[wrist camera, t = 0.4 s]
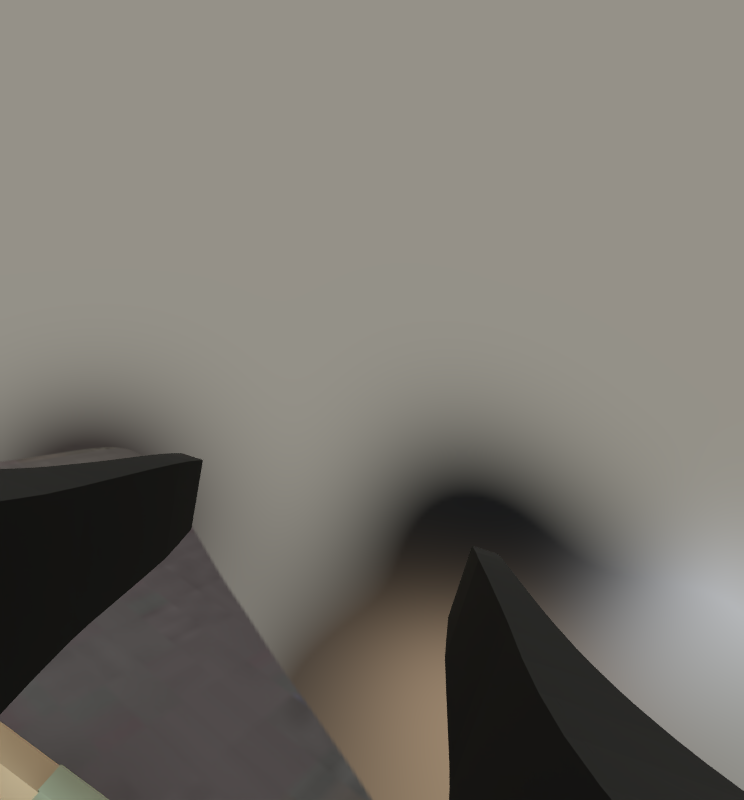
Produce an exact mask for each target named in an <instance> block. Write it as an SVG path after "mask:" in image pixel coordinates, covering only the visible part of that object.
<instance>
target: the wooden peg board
mask: <svg viewBox="0 0 744 800" xmlns="http://www.w3.org/2000/svg"><path fill="white" fill-rule="evenodd" d="M0 800H109V799H107V798H106V797H105V796H103V795H102V794H101V793H99V792H98V791H97V790H95V789H94V788H92V787H91V786H90V785H88V784H87V783H86V782H84V781H83V780H82V779H80V778H79V777H78V776H76V775H75V774H74V773H72V772H71V771H70V770H68V769H67V768H66V767H64V766H63V765H60V766H59V765H58V764H57V763H55V762H54V761H53V760H51V759H50V758H49V757H47V756H46V755H45V754H43V753H42V752H41V751H39V750H38V749H36V748H35V747H34V746H32V745H31V744H30V743H28V742H27V741H26V740H24V739H23V738H22V737H20V736H19V735H18V734H16V733H15V732H14V731H12V730H11V729H10V728H8V727H7V726H6V725H4V724H3V723H2V722H0Z"/></svg>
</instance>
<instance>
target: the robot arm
mask: <svg viewBox="0 0 744 800" xmlns="http://www.w3.org/2000/svg"><path fill="white" fill-rule="evenodd" d="M201 468H202V460H201V459H198V458H195V457H191V456H188V455H185V454H181V453H180V454H179V453H174V454H173V453H171V454H158V455H148V456H140V457H132V458H124V459H116V460H108V461H100V462H91V463H81V464H71V465H61V466H51V467H38V468H21V469H0V714H1V713H2V712H3V711H4V710H5V709H6V708H7V706H8V705H9V704H10V703H11V702H12V701H13V700H14V699H15V698H16V697H17V696H18V695H19V694H20V692H21V691H22V690H23V689H24V688H25V687H26V686H27V685H28V684H29V683H30V682H31V681H32V680H33V679H34V678H35V677H36V676H37V675H38V674H39V673H40V671H41V670H42V669H43V668H44V667H45V666H46V665H47V664H48V663H49V662H50V661H51V660H52V659H53V658H54V657H55V656H56V655H57V654H58V653H59V652H60V651H61V650H62V649H63V648H64V647H65V646H66V645H67V644H68V643H69V642H70V641H71V640H72V639H73V638H74V637H75V636H76V635H77V634H79V633H80V632H81V631H82V630H83V629H84V628H85V627H86V626H87V625H88V624H89V623H91V622H92V621H93V620H94V619H95V618H96V617H98V616H99V615H100V614H101V613H102V612H104V611H105V610H106V609H107V608H108V607H109V606H111V605H112V604H113V603H114V602H115V601H116V600H118V599H119V598H120V597H121V596H122V595H123V594H125V593H126V592H127V591H128V590H129V589H131V588H132V587H133V586H134V585H135V584H136V583H138V582H139V581H140V580H141V579H142V578H143V577H145V576H146V575H147V574H148V573H149V572H150V571H151V570H153V569H154V568H155V567H156V566H157V565H158V564H159V563H161V562H162V561H163V560H164V559H165V558H166V557H167V556H168V555H169V554H170V553H171V551H172V550H173V549H174V548H175V547H176V546H177V545H178V544H179V543H180V541H181V540H182V539H183V538H184V537H185V536H186V534H187V533H188V532H189V531H190V530H191V527H192V521H193V515H194V509H195V503H196V497H197V492H198V486H199V479H200V473H201ZM445 667H446V668H445V670H446V694H447V695H446V696H447V718H448V741H449V761H450V762H449V763H450V764H449V765H450V766H449V767H450V794H449V800H744V791H743V790H741V789H740V788H738V787H737V786H736V785H735V784H733V783H732V782H731V781H729V780H728V779H727V778H725V777H724V776H722V775H721V774H720V773H719V772H717V771H716V770H714V769H713V768H712V767H710V766H709V765H707V764H706V763H705V762H704V761H702V760H701V759H700V758H699V757H697V756H696V755H695V754H693V753H692V752H691V751H690V750H689V749H687V748H686V747H685V746H683V745H682V744H681V743H680V742H678V741H677V740H676V739H675V738H673V737H672V736H671V735H670V734H669V733H667V732H666V731H665V730H664V729H663V728H662V727H660V726H659V725H658V724H657V723H656V722H655V721H653V720H652V719H651V718H650V717H649V716H647V715H646V714H645V713H644V712H643V711H642V710H640V709H639V708H638V707H637V706H636V705H635V704H633V703H632V702H631V701H630V700H629V699H628V698H627V697H626V696H624V695H623V694H622V693H621V692H620V691H619V690H618V689H617V688H616V687H615V686H614V685H613V684H612V683H611V682H610V681H609V680H607V679H606V678H605V677H604V676H603V675H602V674H601V673H600V672H599V671H598V670H597V669H596V668H595V667H594V666H593V665H592V664H591V663H590V662H589V661H588V660H587V659H586V658H585V657H584V656H583V655H582V654H581V653H580V652H579V651H578V650H577V649H576V648H575V647H574V645H573V644H572V643H571V642H570V641H569V640H568V639H567V638H566V637H565V635H564V634H563V633H562V632H561V631H560V630H559V629H558V628H557V627H556V625H555V624H554V623H553V622H552V621H551V619H550V618H549V617H548V616H547V615H546V614H545V612H544V611H543V610H542V609H541V608H540V606H539V605H538V604H537V603H536V601H535V600H534V599H533V598H532V596H531V595H530V594H529V593H528V591H527V590H526V589H525V588H524V586H523V585H522V584H521V583H520V581H519V580H518V578H517V577H516V576H515V575H514V573H513V572H512V571H511V569H510V568H509V567H508V566H507V565H506V563H505V562H504V561H503V560H502V558H501V557H500V556H499V555H498V554H496V553H493V552H490V551H487V550H484V549H481V548H477V547H474V546H472V548H471V551H470V554H469V557H468V560H467V563H466V566H465V569H464V572H463V575H462V578H461V581H460V584H459V587H458V590H457V593H456V596H455V599H454V602H453V605H452V608H451V611H450V614H449V617H448V627H447V638H446V652H445Z"/></svg>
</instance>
